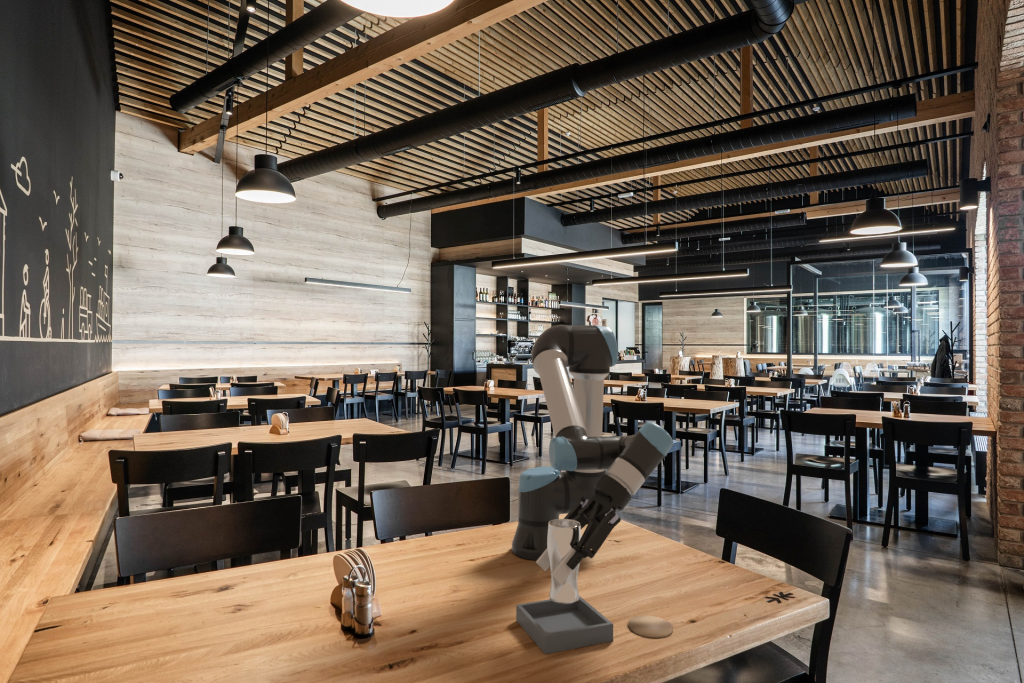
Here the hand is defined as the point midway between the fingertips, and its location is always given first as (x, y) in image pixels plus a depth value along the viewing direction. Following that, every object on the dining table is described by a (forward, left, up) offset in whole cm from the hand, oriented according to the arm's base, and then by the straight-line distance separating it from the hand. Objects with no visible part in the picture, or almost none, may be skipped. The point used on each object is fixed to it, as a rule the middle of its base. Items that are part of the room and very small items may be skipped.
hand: (548, 572), depth 115 cm
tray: (0, +4, -12) cm, 13 cm away
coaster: (+5, +21, -12) cm, 25 cm away
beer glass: (0, +4, -6) cm, 7 cm away
